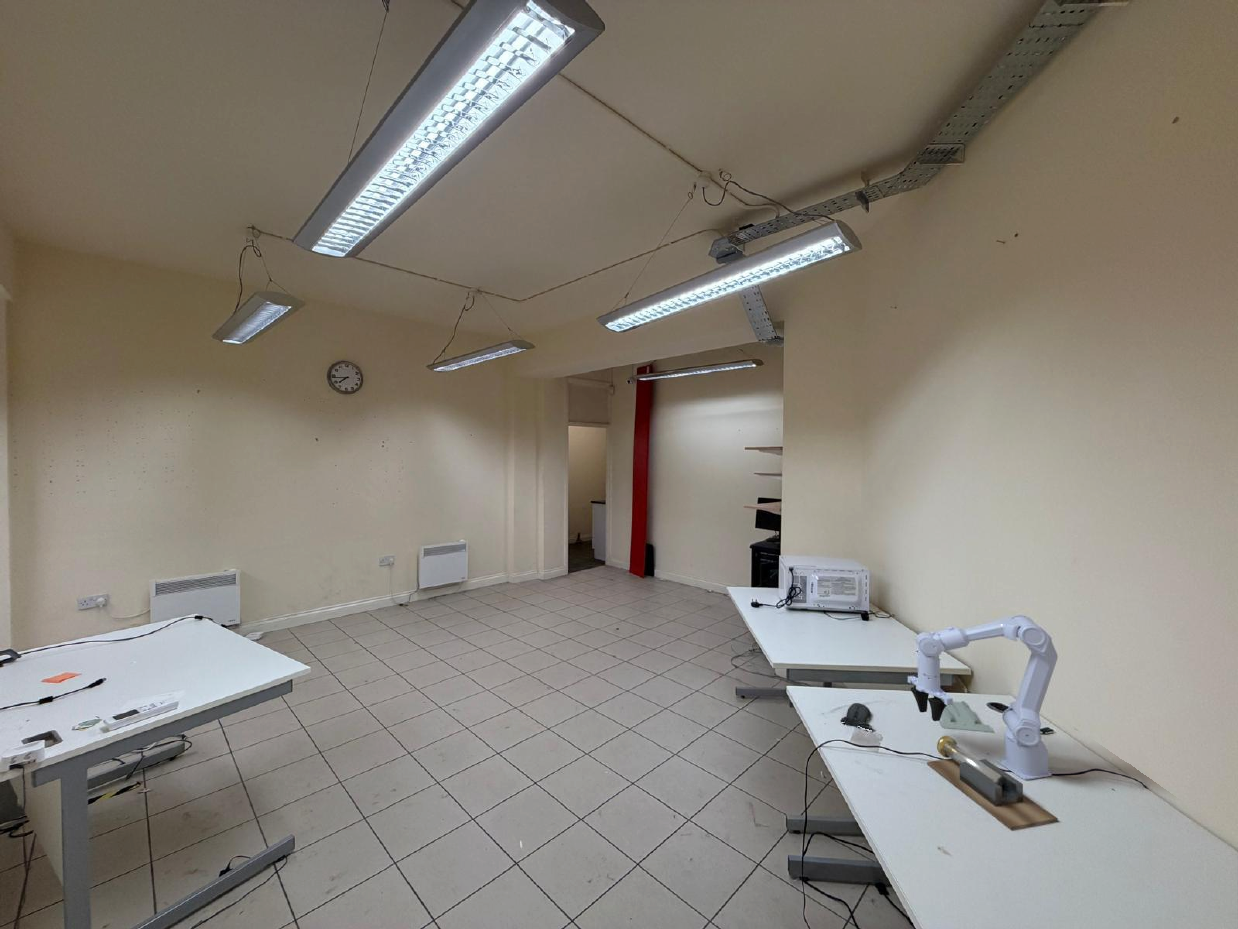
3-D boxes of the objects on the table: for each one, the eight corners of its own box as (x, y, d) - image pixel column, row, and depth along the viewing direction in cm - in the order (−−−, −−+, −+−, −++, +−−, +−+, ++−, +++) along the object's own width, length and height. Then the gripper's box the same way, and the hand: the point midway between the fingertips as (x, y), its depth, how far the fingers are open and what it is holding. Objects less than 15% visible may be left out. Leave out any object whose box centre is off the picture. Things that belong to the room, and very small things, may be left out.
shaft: (952, 753, 134) (952, 733, 134) (1007, 791, 118) (1006, 769, 118) (935, 755, 133) (935, 736, 133) (988, 794, 117) (987, 772, 117)
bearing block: (985, 775, 126) (985, 759, 126) (1023, 801, 116) (1022, 784, 116) (959, 779, 124) (959, 763, 124) (995, 806, 114) (995, 788, 114)
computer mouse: (878, 714, 159) (878, 704, 159) (872, 735, 147) (872, 723, 147) (847, 705, 165) (847, 695, 165) (839, 724, 153) (839, 713, 153)
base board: (967, 758, 134) (967, 756, 134) (1057, 821, 110) (1057, 818, 110) (927, 764, 132) (927, 762, 132) (1011, 830, 108) (1011, 827, 108)
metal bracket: (925, 693, 161) (972, 697, 158) (923, 706, 163) (969, 710, 160) (945, 727, 148) (997, 731, 145) (943, 740, 149) (994, 745, 146)
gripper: (899, 663, 145) (900, 705, 145) (938, 685, 131) (938, 731, 131) (918, 661, 146) (918, 702, 146) (958, 683, 132) (959, 728, 132)
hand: (929, 716), depth 139 cm, fingers open, 4 cm apart
